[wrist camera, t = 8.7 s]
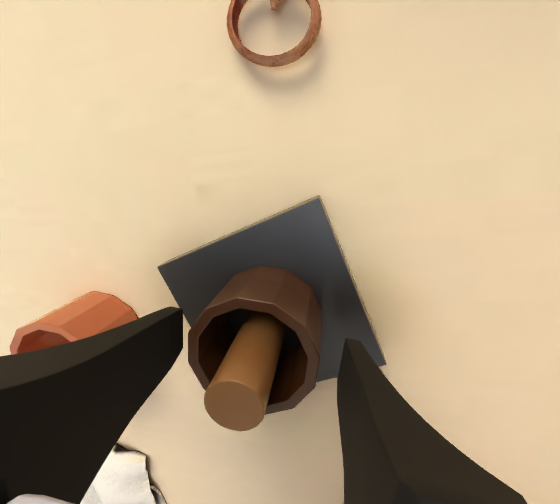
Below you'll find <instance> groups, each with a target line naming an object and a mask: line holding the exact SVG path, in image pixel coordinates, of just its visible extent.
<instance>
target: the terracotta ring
mask: <svg viewBox="0 0 560 504" xmlns="http://www.w3.org/2000/svg"><path fill="white" fill-rule="evenodd" d="M136 319H138V318H137V316H136V315H135V313H134V311H133V310H132V308H130V307H129V306H128V305H126V304H125V303H123V302H122V301H121V300H119V299H118V298H116V297H115V296H113V295H109V294H103V293H98V292H90V293H88V294H85V295H83V296H81V297H79V298H76V299H74V300H72V301H70V302H69V303H67V304H65V305H63V306H61V307H59V308H57V309H55V310H53V311H51V312H49V313H47V314H45V315H44V316H42V317H40V318H38V319H36V320H34V321H32V322H30V323H28V324H26V325H24V326H22V327H20V328H19V329H17V330H16V333H15V335H14V338H13V340H12V342H11V345H10V352H11V355H13V354H19V353H25V352H30V351H35V350H40V349H44V348H48V347H53V346H57V345H61V344H66V343H69V342H73V341H76V340H80V339H83V338H87V337H90V336H93V335H96V334H99V333H102V332H105V331H107V330H110V329H113V328H116V327H118V326H121V325H124V324H126V323H129V322H131V321H134V320H136Z"/></svg>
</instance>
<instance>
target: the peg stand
mask: <svg viewBox="0 0 560 504" xmlns="http://www.w3.org/2000/svg"><path fill="white" fill-rule="evenodd" d="M260 265H261V266H268V267H275V268H281V269H287V270H289V271H290V272H292V273H293V274H295V275H296V276H297V277H299V278H300V279H301V280H303V281H304V282H305V283H307V284H308V285H309V286H310V287H311V288H312V290H313V292H314V295H315V297H316V299H317V301H318V304H319V306H320V308H321V310H322V322H321V347H320V361H319V367H318V373H317V379H316V382H319V381H323V380H327V379H331V378H335V377H338V373H339V368H340V363H341V357H342V352H343V347H344V342H345V338H349V339H355V340H360V341H361V342H362V344H363V345H364V347H365V348H366V350H367V351H368V353H369V354H370V356H371V357H372V359H373V360H374V362H375V363H376V364H377V366H378V367H379V366H383V365H386V361H385V357H384V354H383V351H382V348H381V346H380V343H379V341H378V338H377V336H376V333H375V331H374V328H373V326H372V323H371V321H370V319H369V316H368V314H367V311H366V309H365V306H364V304H363V301H362V299H361V296H360V294H359V291H358V289H357V286H356V284H355V282H354V279H353V277H352V274H351V272H350V269H349V267H348V264H347V262H346V259H345V257H344V254H343V252H342V249H341V247H340V245H339V242H338V240H337V237H336V235H335V232H334V230H333V227H332V225H331V222H330V220H329V217H328V215H327V212H326V210H325V208H324V205H323V203H322V200H321V198H320V196H317V197H314V198H312V199H310V200H307V201H305V202H303V203H300V204H298V205H296V206H293V207H291V208H289V209H286V210H284V211H282V212H280V213H277V214H275V215H273V216H270V217H268V218H266V219H263V220H261V221H259V222H256V223H254V224H252V225H249V226H247V227H245V228H242V229H240V230H238V231H236V232H233V233H231V234H229V235H226V236H224V237H222V238H219V239H217V240H215V241H212V242H210V243H208V244H205V245H203V246H201V247H198V248H196V249H194V250H192V251H189V252H187V253H185V254H182V255H180V256H178V257H175V258H173V259H171V260H169V261H167V262H165V263H163V264H162V265H160V266H158V269H159V271H160V273H161V275H162V277H163V278H164V280H165V282H166V284H167V286H168V287H169V289H170V291H171V293H172V295H173V296H174V298H175V300H176V302H177V303H178V305H179V307H180V308H181V309H183V314H184V316H185V318H186V320H187V321H188V323H189V325H190V327H191V328H192V326H193V325H194V324H195V322H196V321H197V319H198V318H199V317H200V315H201V314H202V312H203V311H204V310H205V308H206V307H207V306H208V305H209V304H210V303H211V301H212V300H213V299H214V298H215V297H216V296H217V295H218V293H219V292H220V291H221V290H222V289H223V288H224V286H225V285H226V284H227V283H228V282H229V281H230V280H231V278H232V277H233V276H234V275H235V274H238V273H240V272H243V271H246V270H248V269H251V268H253V267H256V266H260ZM228 319H229V321H230V323H231V325H232V327H233V329H234V330H235V332H236V334H237V335H236V337H235V339H234V341H233V342H232V344H231V346H230V348H229V350H228V352H227V353H226V355H225V357H224V359H223V361H222V363H221V364H220V366H219V368H218V370H217V372H216V374H215V375H214V377H213V379H212V381H211V383H210V385H209V386H208V388H207V390H206V392H205V396H204V404H205V408H206V410H207V412H208V414H209V415H210V417H211V418H212V419H213V420H214V421H215V422H216V423H218V424H219V425H221V426H223V427H225V428H227V429H230V430H235V431H246V430H250V429H252V428H254V427H256V426H257V425H258V424H259V423H260V422H261V421H262V419H263V417H264V415H265V411H266V407H267V403H268V399H269V395H270V391H271V387H272V383H273V380H274V376H275V372H276V368H277V364H278V360H279V356H280V352H281V351H283V350H287V349H290V348H294V347H296V346H297V345H298V344H299V343H300V340H299V338H298V336H297V334H296V332H295V331H294V330H292V329H291V328H290V327H288V326H287V325H285V324H284V323H283V322H281V321H280V320H279V319H277V318H276V317H274V316H273V315H272V314H270V313H265V312H259V311H253V310H247V309H242V308H239V309H236V310H233V311H230V312H228Z"/></svg>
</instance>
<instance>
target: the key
mask: <svg viewBox="0 0 560 504" xmlns="http://www.w3.org/2000/svg"><path fill="white" fill-rule="evenodd" d="M246 1H247V0H231V3H230V6H229V10H228V15H227V28H228V33H229V37H230V39H231V41H232V44H233V45H234V47H235V48H236V50H237V51H238V52H239V53H240V54H241V55H242V56H244V57H245V58H246V59H248V60H250V61H251V62H253V63H256V64H258V65H262V66H268V67H276V66H283V65H287V64H290V63H292V62H294V61H296V60H298V59H299V58H300V57H302V56H303V55H304V54H305V53H306V52H307V51H308V50H309V49H310V48H311V47H312V45H313V44H314V42H315V40H316V38H317V36H318V34H319V30H320V27H321V10H320V5H319V2H318V0H306V1H307V3H308V4H309V6H310V8H311V22H310V26H309V29H308V31H307V33H306V35H305V37H304V38H303V40H302V41H301V42H300V43H299V45H297V46H296V47H295V48H293V49H292V50H290V51H288V52H286V53H283V54H281V55H275V56H264V55H259V54H256V53H254V52H251V51H250V50H248V49H247V48H246V47H244V46H243V45H242V43H241V40H240V38H239V34H238V19H239V15H240V12H241V10H242V8H243V6H244V4H245V3H246ZM279 2H280V0H270V5H271V9H272V10H276V8H277V6H278V4H279Z"/></svg>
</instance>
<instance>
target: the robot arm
mask: <svg viewBox="0 0 560 504" xmlns="http://www.w3.org/2000/svg"><path fill="white" fill-rule="evenodd" d="M182 349H183V309H181V308H175V307H167V308H164V309H161V310H159V311H156V312H154V313H151V314H149V315H146V316H144V317H141V318H139V319H136V320H134V321H131V322H129V323H126V324H124V325H121V326H118V327H116V328H113V329H110V330H107V331H105V332H102V333H99V334H96V335H93V336H90V337H87V338H83V339H80V340H76V341H73V342H69V343H66V344H61V345H57V346H53V347H48V348H44V349H40V350H35V351H30V352H25V353H19V354H13V355H7V356H1V357H0V504H80V503H81V501H82V499H83V498H84V496H85V494H86V492H87V491H88V489H89V487H90V485H91V484H92V482H93V480H94V478H95V477H96V475H97V473H98V472H99V470H100V468H101V467H102V465H103V463H104V462H105V460H106V458H107V457H108V455H109V454H110V452H111V450H112V449H113V447H114V445H115V444H116V442H117V441H118V439H119V438H120V436H121V435H122V433H123V431H124V430H125V428H126V427H127V425H128V424H129V422H130V421H131V419H132V418H133V417H134V415H135V414H136V412H137V411H138V410H139V409H140V407H141V406H142V405H143V403H144V402H145V401H146V400H147V398H148V397H149V396H150V395H151V393H152V392H153V391H154V389H155V388H156V387H157V386H158V384H159V383H160V382H161V381H162V379H163V378H164V377H165V375H166V374H167V373H168V371H169V370H170V369H171V367H172V366H173V364H174V362H175V361H176V359H177V357H178V356H179V354H180V352H181V350H182ZM337 406H338V416H339V425H340V435H341V444H342V454H343V466H344V504H527V502H526V501H525V499H524V498H523V496H522V495H520V494H519V493H518V492H516V491H515V490H513V489H512V488H510V487H509V486H507V485H506V484H505V483H503V482H502V481H500V480H499V479H497V478H496V477H495V476H493V475H492V474H490V473H489V472H487V471H486V470H484V469H483V468H482V467H480V466H479V465H478V464H476V463H475V462H474V461H472V460H471V459H470V458H469V457H467V456H466V455H465V454H463V453H462V452H461V451H460V450H458V449H457V448H456V447H455V446H453V445H452V444H451V443H450V442H449V441H447V440H446V439H445V438H444V437H443V436H442V435H440V434H439V433H438V432H437V431H436V430H435V429H434V428H433V427H432V426H430V425H429V424H428V423H427V422H426V421H425V420H424V419H423V418H422V417H421V416H420V415H419V414H418V413H417V412H416V411H415V410H414V409H413V408H412V407H411V406H410V405H409V404H408V403H407V402H406V401H405V400H404V398H403V397H402V396H401V395H400V394H399V393H398V392H397V390H396V389H395V388H394V387H393V386H392V384H391V383H390V382H389V381H388V379H387V378H386V377H385V375H384V374H383V373H382V371H381V370H380V369H379V367H378V366H377V364H376V363H375V362H374V360H373V359H372V357H371V356H370V354H369V353H368V351H367V350H366V348H365V347H364V345H363V344H362V342H361V341H360V340H355V339H349V338H345V342H344V347H343V352H342V357H341V363H340V368H339V373H338V378H337Z"/></svg>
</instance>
